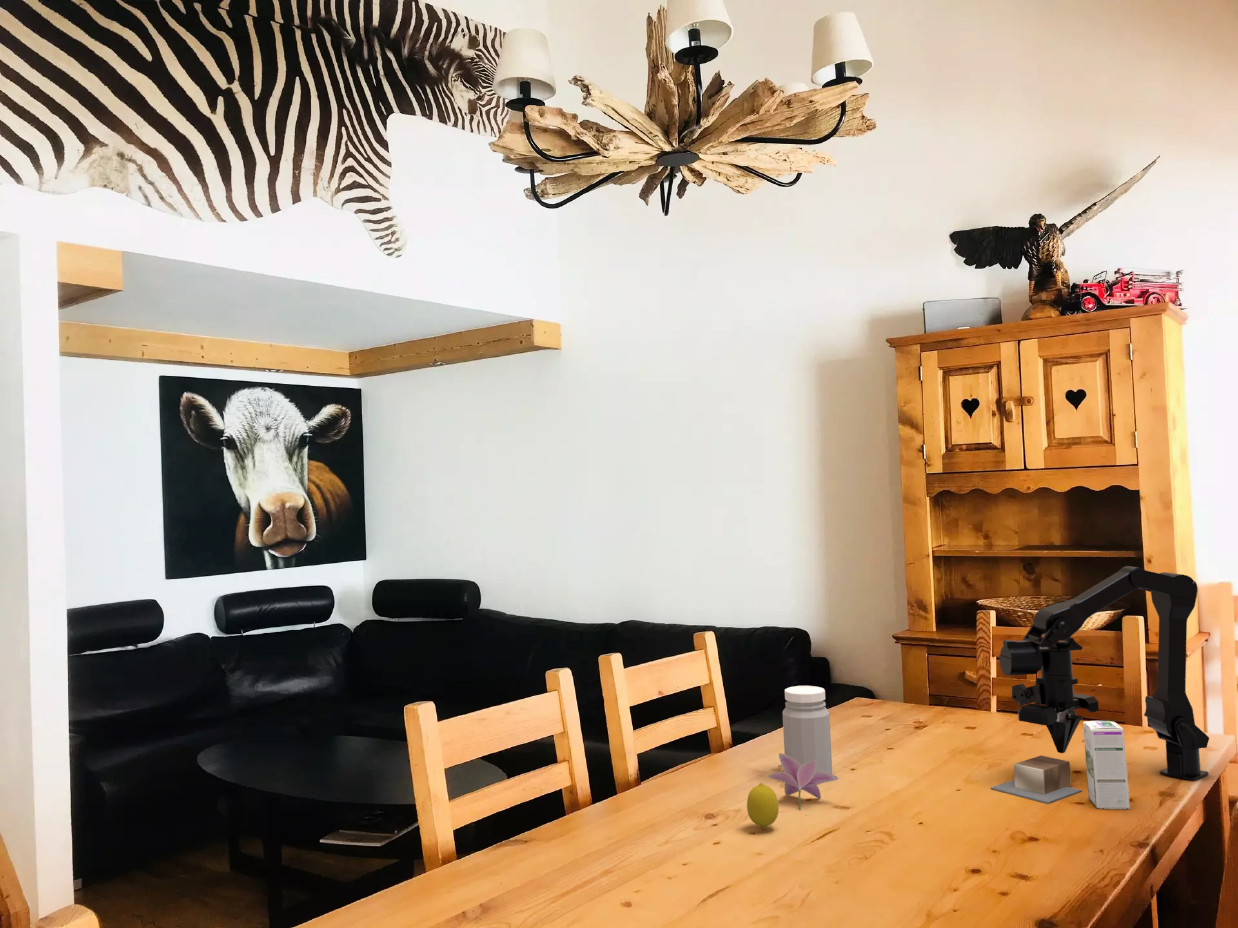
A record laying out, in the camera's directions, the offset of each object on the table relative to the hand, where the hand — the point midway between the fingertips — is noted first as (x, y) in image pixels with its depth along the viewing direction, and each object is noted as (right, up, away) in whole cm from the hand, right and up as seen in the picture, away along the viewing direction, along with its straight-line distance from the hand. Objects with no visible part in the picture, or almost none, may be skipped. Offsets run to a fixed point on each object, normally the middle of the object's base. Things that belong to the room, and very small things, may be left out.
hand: (1061, 752), depth 190 cm
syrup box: (+2, -5, -15) cm, 16 cm away
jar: (-48, -8, +10) cm, 49 cm away
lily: (-52, -8, -7) cm, 53 cm away
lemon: (-62, -8, -20) cm, 65 cm away
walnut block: (-2, -3, -1) cm, 4 cm away
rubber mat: (-7, -6, -5) cm, 11 cm away
